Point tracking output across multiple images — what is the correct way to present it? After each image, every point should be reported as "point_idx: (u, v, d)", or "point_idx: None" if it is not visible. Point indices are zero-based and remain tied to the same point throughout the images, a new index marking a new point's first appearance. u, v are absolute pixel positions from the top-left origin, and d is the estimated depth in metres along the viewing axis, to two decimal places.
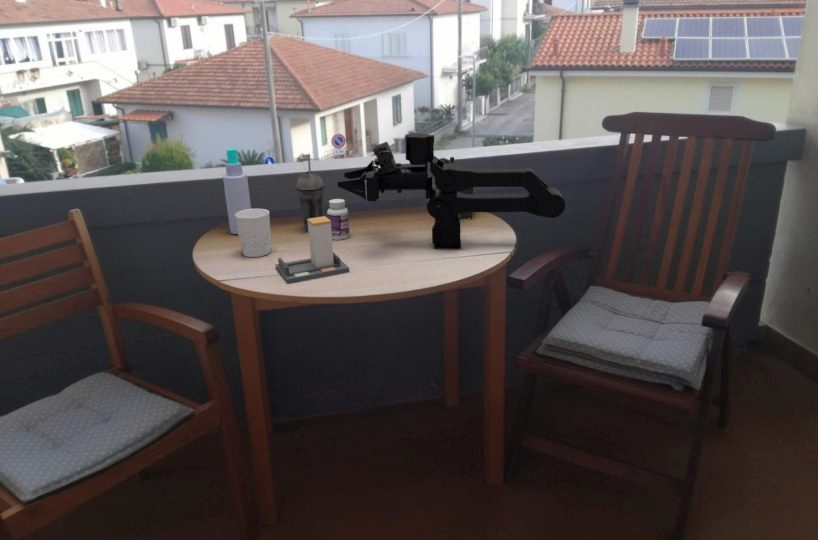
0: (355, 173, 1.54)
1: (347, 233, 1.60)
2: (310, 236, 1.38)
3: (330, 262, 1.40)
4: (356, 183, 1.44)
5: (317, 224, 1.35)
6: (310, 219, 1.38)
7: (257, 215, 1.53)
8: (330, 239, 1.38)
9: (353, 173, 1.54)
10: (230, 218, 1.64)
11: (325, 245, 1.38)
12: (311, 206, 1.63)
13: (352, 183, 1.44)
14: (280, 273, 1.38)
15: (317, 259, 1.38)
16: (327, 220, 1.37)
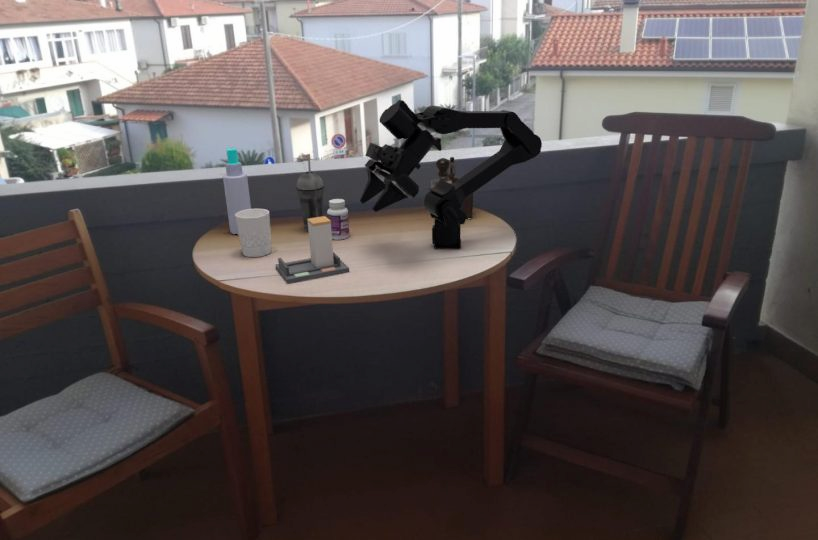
0: (368, 192, 1.45)
1: (347, 233, 1.60)
2: (310, 236, 1.38)
3: (330, 262, 1.40)
4: (388, 194, 1.37)
5: (317, 224, 1.35)
6: (310, 219, 1.38)
7: (257, 215, 1.53)
8: (330, 239, 1.38)
9: (366, 193, 1.45)
10: (230, 218, 1.64)
11: (325, 245, 1.38)
12: (311, 206, 1.63)
13: (385, 197, 1.37)
14: (280, 273, 1.38)
15: (317, 259, 1.38)
16: (327, 220, 1.37)
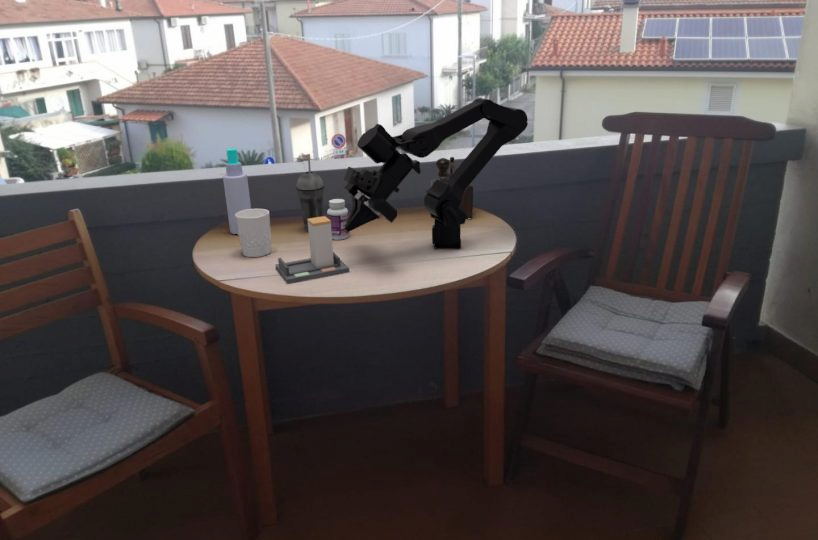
0: None
1: (347, 233, 1.60)
2: (310, 236, 1.38)
3: (330, 262, 1.40)
4: (360, 214, 1.40)
5: (317, 224, 1.35)
6: (310, 219, 1.38)
7: (257, 215, 1.53)
8: (330, 239, 1.38)
9: None
10: (230, 218, 1.64)
11: (325, 245, 1.38)
12: (311, 206, 1.63)
13: (357, 217, 1.40)
14: (280, 273, 1.38)
15: (317, 259, 1.38)
16: (327, 220, 1.37)
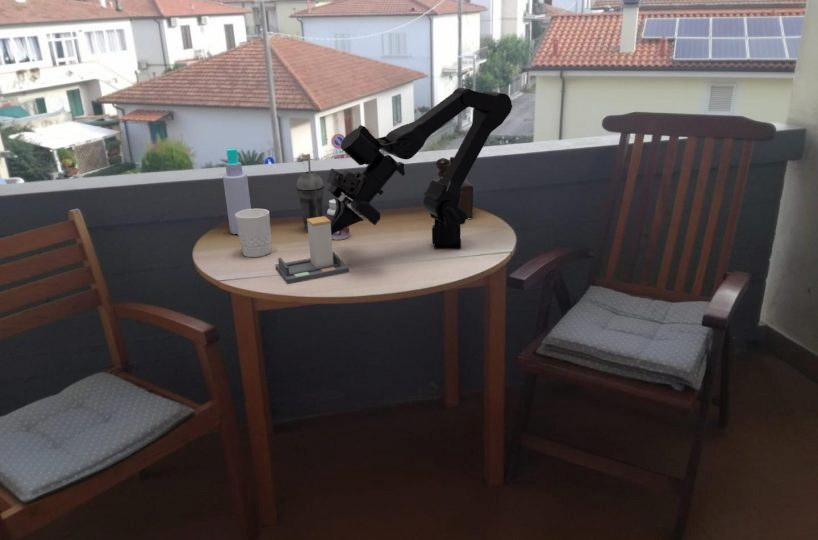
0: None
1: (347, 233, 1.60)
2: (310, 236, 1.38)
3: (330, 262, 1.40)
4: (343, 217, 1.38)
5: (317, 224, 1.35)
6: (310, 219, 1.38)
7: (257, 215, 1.53)
8: (330, 239, 1.38)
9: None
10: (230, 218, 1.64)
11: (325, 245, 1.38)
12: (311, 206, 1.63)
13: (340, 220, 1.38)
14: (280, 273, 1.38)
15: (317, 259, 1.38)
16: (327, 220, 1.37)
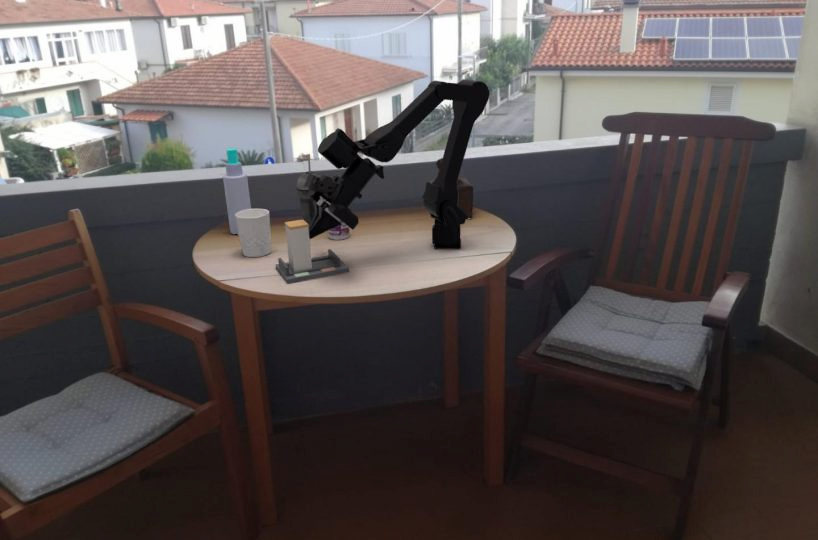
0: None
1: (347, 233, 1.60)
2: (288, 240, 1.36)
3: (308, 266, 1.38)
4: (321, 221, 1.36)
5: (294, 228, 1.33)
6: (287, 222, 1.36)
7: (257, 215, 1.53)
8: (308, 243, 1.36)
9: None
10: (230, 218, 1.64)
11: (303, 249, 1.36)
12: (311, 206, 1.63)
13: (318, 224, 1.36)
14: (280, 273, 1.38)
15: (295, 263, 1.36)
16: (304, 224, 1.35)
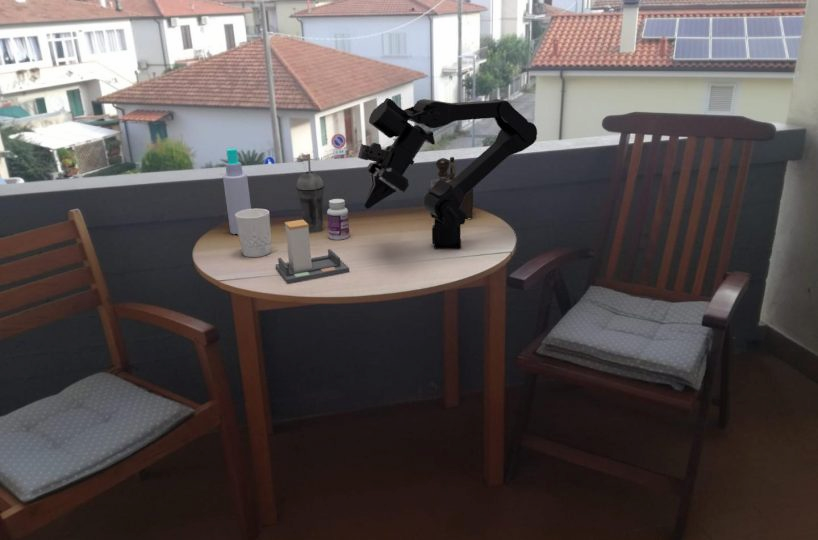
0: None
1: (347, 233, 1.60)
2: (288, 240, 1.36)
3: (308, 266, 1.38)
4: (377, 190, 1.40)
5: (294, 228, 1.33)
6: (287, 222, 1.36)
7: (257, 215, 1.53)
8: (308, 243, 1.36)
9: None
10: (230, 218, 1.64)
11: (303, 249, 1.36)
12: (311, 206, 1.63)
13: (374, 193, 1.40)
14: (280, 273, 1.38)
15: (295, 263, 1.36)
16: (304, 224, 1.35)
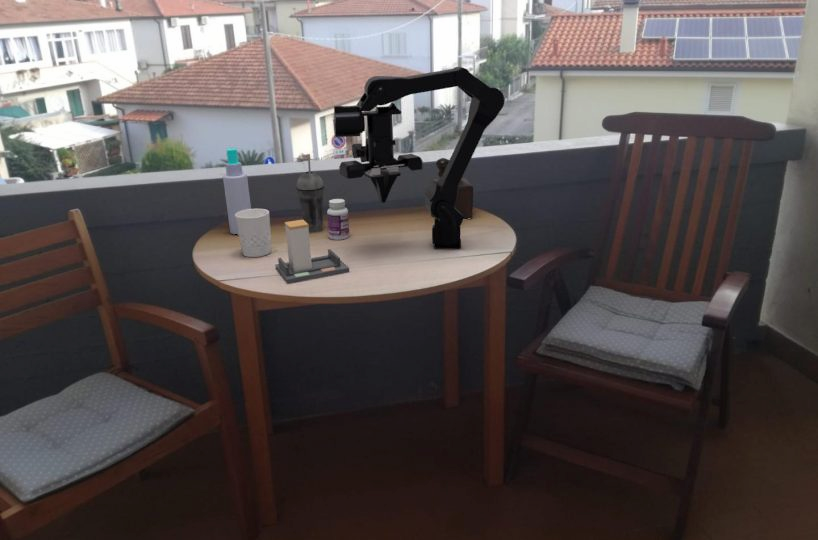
0: None
1: (347, 233, 1.60)
2: (288, 240, 1.36)
3: (308, 266, 1.38)
4: (376, 183, 1.45)
5: (294, 228, 1.33)
6: (287, 222, 1.36)
7: (257, 215, 1.53)
8: (308, 243, 1.36)
9: None
10: (230, 218, 1.64)
11: (303, 249, 1.36)
12: (311, 206, 1.63)
13: (376, 187, 1.46)
14: (280, 273, 1.38)
15: (295, 263, 1.36)
16: (304, 224, 1.35)
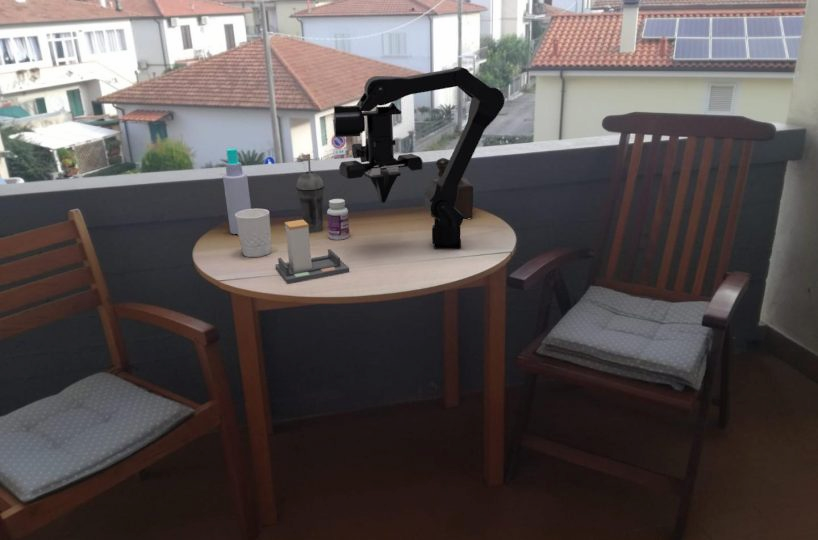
0: None
1: (347, 233, 1.60)
2: (288, 240, 1.36)
3: (308, 266, 1.38)
4: (376, 183, 1.45)
5: (294, 228, 1.33)
6: (287, 222, 1.36)
7: (257, 215, 1.53)
8: (308, 243, 1.36)
9: None
10: (230, 218, 1.64)
11: (303, 249, 1.36)
12: (311, 206, 1.63)
13: (376, 187, 1.46)
14: (280, 273, 1.38)
15: (295, 263, 1.36)
16: (304, 224, 1.35)
